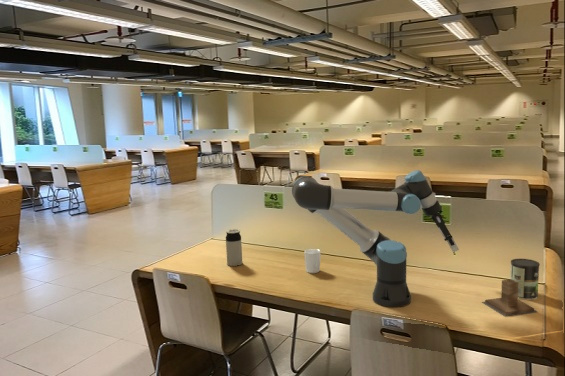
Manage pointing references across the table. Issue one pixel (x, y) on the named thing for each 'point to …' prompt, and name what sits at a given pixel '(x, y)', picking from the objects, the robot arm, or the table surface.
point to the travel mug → (233, 247)
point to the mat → (508, 315)
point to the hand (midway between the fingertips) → (452, 245)
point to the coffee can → (525, 277)
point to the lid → (509, 300)
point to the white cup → (312, 260)
